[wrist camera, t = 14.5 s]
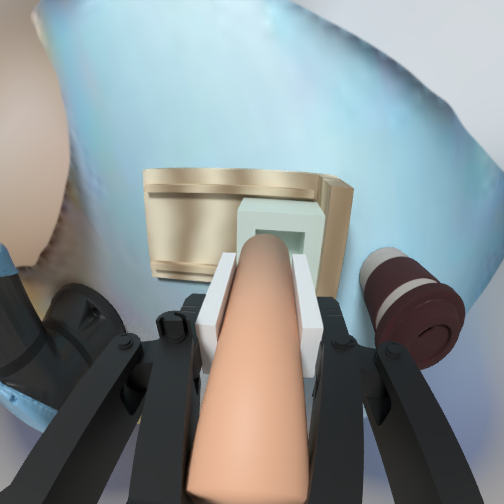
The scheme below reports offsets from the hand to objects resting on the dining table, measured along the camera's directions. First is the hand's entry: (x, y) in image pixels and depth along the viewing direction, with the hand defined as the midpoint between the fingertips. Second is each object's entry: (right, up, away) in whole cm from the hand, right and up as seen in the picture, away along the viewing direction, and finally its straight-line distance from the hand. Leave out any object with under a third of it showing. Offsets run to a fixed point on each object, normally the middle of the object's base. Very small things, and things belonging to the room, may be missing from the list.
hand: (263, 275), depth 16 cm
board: (-3, +4, +17) cm, 18 cm away
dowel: (0, +1, +2) cm, 3 cm away
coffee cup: (+17, -1, +18) cm, 25 cm away
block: (+2, +3, +16) cm, 16 cm away
